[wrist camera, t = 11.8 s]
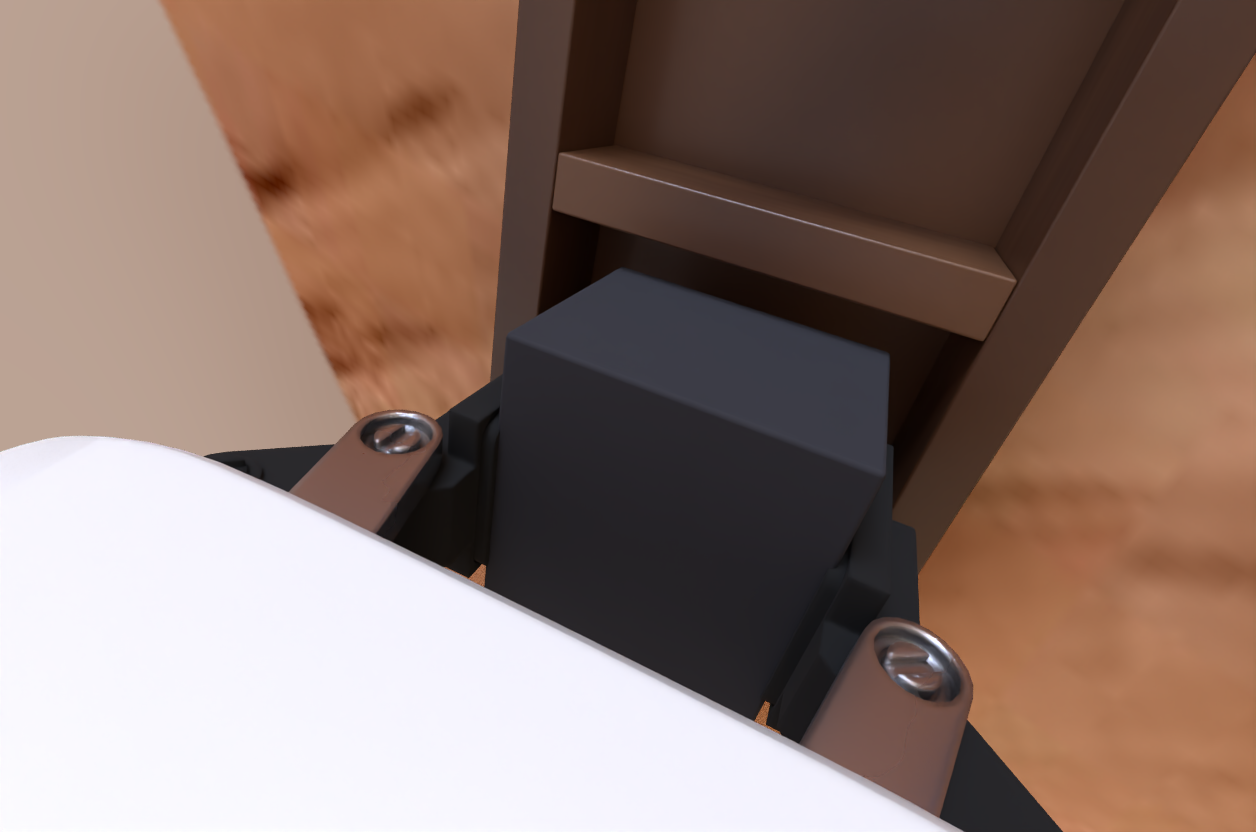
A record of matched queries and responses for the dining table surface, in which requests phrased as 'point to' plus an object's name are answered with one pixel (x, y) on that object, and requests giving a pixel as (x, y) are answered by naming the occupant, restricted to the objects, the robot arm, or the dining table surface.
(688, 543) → the dark grey rectangular block
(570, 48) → the brown divided wooden tray
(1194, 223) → the dining table surface
